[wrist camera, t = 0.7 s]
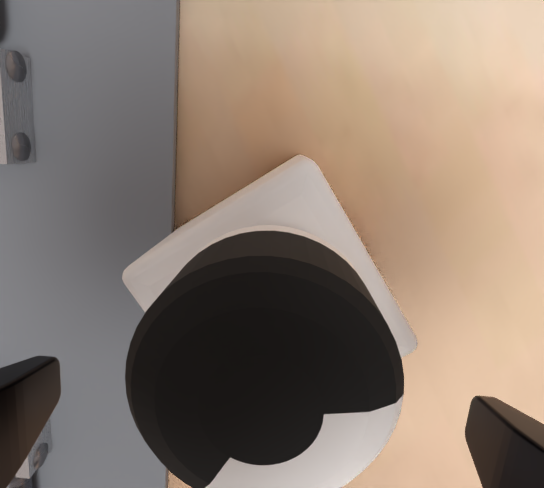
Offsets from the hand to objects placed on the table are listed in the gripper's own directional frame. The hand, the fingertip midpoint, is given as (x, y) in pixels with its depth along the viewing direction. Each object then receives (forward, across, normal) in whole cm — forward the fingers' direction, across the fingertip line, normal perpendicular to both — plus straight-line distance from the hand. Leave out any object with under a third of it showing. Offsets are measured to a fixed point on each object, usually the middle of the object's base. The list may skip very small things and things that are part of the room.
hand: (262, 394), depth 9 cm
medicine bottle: (+12, 0, 0) cm, 12 cm away
